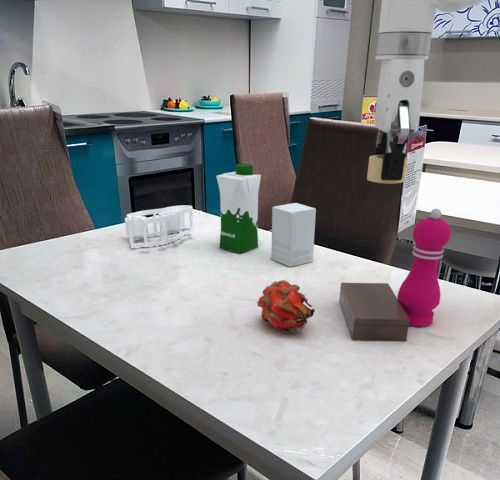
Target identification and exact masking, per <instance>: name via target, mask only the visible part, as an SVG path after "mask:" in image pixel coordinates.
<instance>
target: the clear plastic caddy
mask: <svg viewBox="0 0 500 480" xmlns="http://www.w3.org/2000/svg"><path fill="white" fill-rule="evenodd" d="M186 213H188V214H189V227H186V223H185V222H186V221H185V214H186ZM148 215H149V216H150V215H152V217H147V216H148ZM157 215H158V216H157ZM158 223H159V231H158ZM124 224H125V225H124V226H125V235H126V236H128V237H129V238H128V242H129V243H128V244H130V249H134V248H137V249H139V248H138V247H150V248H154V247H153V246H156V247H160V246H159V245H162V246H165V245H164V244H166V245H169V244H172V243H171V242H174V243H176V242H177V241H179V240H181V239H183V237H185V236H184V235H186V236H189V235H188V234H191V233H193V234H194V220H193V205H185V204H183V205H172V206H167V207H161V208H154V209H153V208H152V209H146V210H140V211H136V212H131V213H127V214H126V217H125V218H124ZM148 224H153V232H150V233H149V228H148V226H149V225H148ZM175 232H179V233H175ZM170 233H173V234H170ZM168 234H169V235H168ZM163 235H164V236H163ZM191 235H192V234H191ZM153 236H159V240H157V241H151V242H148V238H147V237H152V238H154V237H153ZM182 236H183V237H182ZM142 238H144V239H142ZM180 238H181V239H180ZM138 239H141V240H143V242H138V243H135V242H136V241H135V240H138ZM178 239H179V240H178ZM176 240H177V241H176ZM133 241H134V242H133ZM138 241H139V240H138ZM175 241H176V242H175ZM168 243H169V244H168Z"/></svg>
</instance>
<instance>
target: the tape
mask: <svg viewBox="0 0 500 480" xmlns="http://www.w3.org/2000/svg"><path fill="white" fill-rule="evenodd" d="M383 156H384V155H370V156H369V158H368V166H367V174H366V180H367V181H369V182H373V183H377V184H402V183H405V181H406V175H407V167H408V161H409V158H408V157H406V156H405V161H404V168H403V175H402V179H401V180H382V179H381V172H382V164H383Z"/></svg>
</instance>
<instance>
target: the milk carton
mask: <svg viewBox="0 0 500 480" xmlns="http://www.w3.org/2000/svg"><path fill="white" fill-rule="evenodd" d="M215 177H216V180H217V185H218V189H219V200H220V203H219V204H220V205H219V206H220V207H219V208H220V236H219V247H218V248H219V249H221V250H225V251H229V252H232V253H235V254H240V255H241V254H244V253H246V252H250V251H252V250H255V249H258V248H259V234H258V233H259V232H258V231H259V230H258V219H259V216H258V215H259V190H260V185H261V179H262V175H261V174H258V173H254V165H253V164H252V163H237V164H236V165H235V171H232V172H224V173H222V174H218V175H215Z"/></svg>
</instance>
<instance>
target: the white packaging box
mask: <svg viewBox="0 0 500 480" xmlns="http://www.w3.org/2000/svg"><path fill="white" fill-rule="evenodd" d="M316 214H317V208H316V207H313V206H312V207H311V206H308V205H305V204H301V203H298V202H293V203H286V204H281V205H276V206H272V209H271V215H272V216H271V247H270V249H271V253H270V259H271V260H273V261H275V262H278V263H280V264H282V265H284V266H287V267H288V268H290V267H291V268H292V267H296V266H300V265H305V264H309V263H313V261H314V249H315V248H314V247H315V233H316V232H315V231H316V230H315V229H316Z"/></svg>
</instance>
